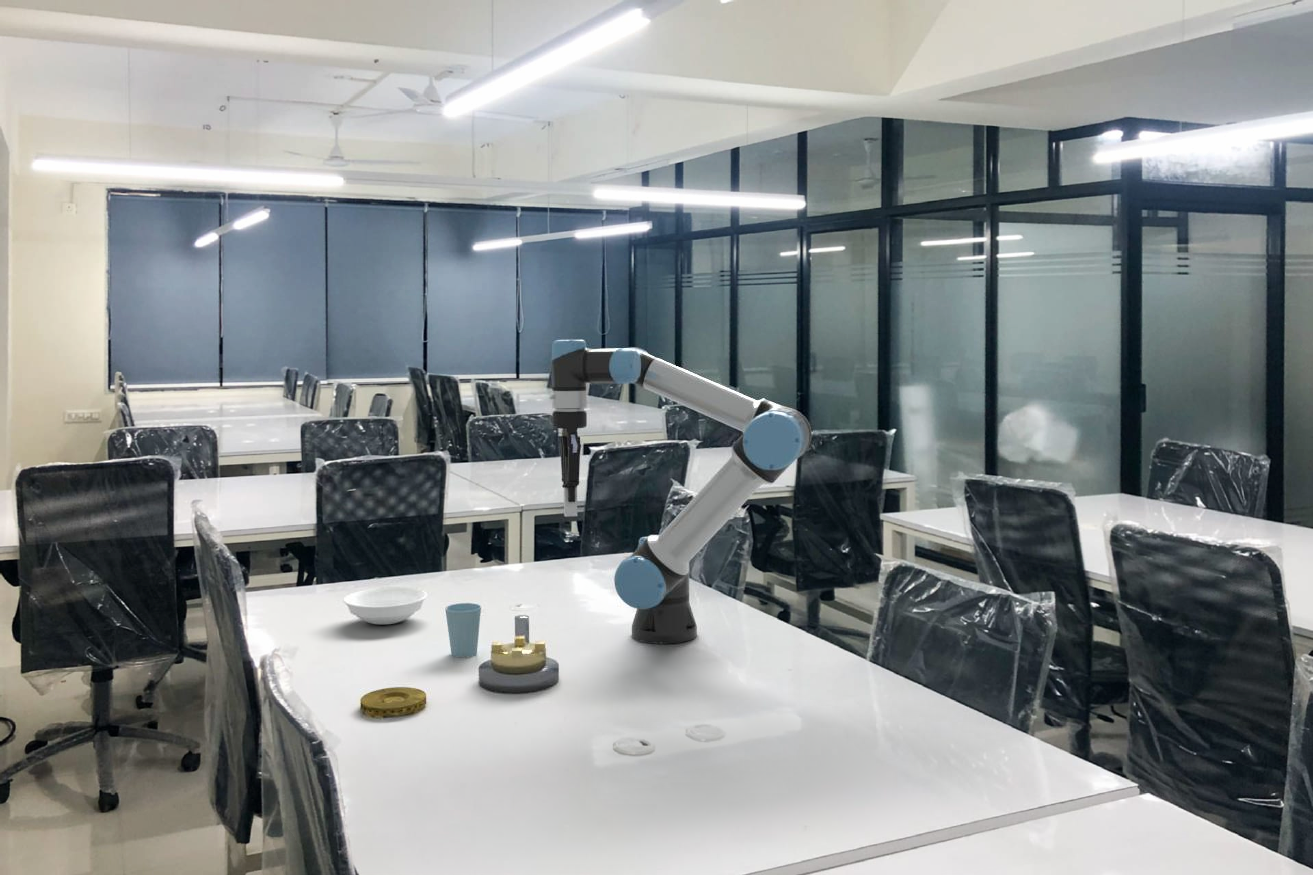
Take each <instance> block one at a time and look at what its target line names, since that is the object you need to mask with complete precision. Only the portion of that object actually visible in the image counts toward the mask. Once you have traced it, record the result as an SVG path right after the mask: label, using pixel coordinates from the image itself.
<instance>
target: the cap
mask: <svg viewBox="0 0 1313 875" xmlns="http://www.w3.org/2000/svg"><path fill="white" fill-rule="evenodd" d="M559 667H560V665H559V663H558V661H557V660H555V659H553V658H550V657H548V656H546V666H545V667H544V668H542V669H540V670H537V671H533V672H528V673H503V672H498V671H495V670H493V669H492V667H491V659H488V660H486V661H484V662H482V663H481V664H479V666H478V684H479V687H480V688H481V689H483V690H485V691H488V692H491V693H494V694H495V693H496V694H502V695H504V694H505V695H523V694H524V695H525V694H532V693H538V692H542V691H545V690H549V689H550V688H551V689H552V688H553V687H555V686H556V685H558V684H559V681H560V668H559Z"/></svg>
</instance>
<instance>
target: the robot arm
mask: <svg viewBox="0 0 1313 875" xmlns="http://www.w3.org/2000/svg"><path fill="white" fill-rule="evenodd" d="M551 346H552V347H551V359H550V362H551V382H552V384H551V385H552V386H551V388H552V394H550V395H549V399H550V400H552V409H554V410H553V412H552V414H551V416H552V427H553V428H555V429H559V430H560V429H562V430H561V435H559V440H558V443H559V447H560V448H559V450H560V463H561V465H560V467H561V468H560V469H561V482H562V486H561V487H562V488H563V516H564V517H578V486H579V485H580V469H581V468H580V464H581V448H582V443H581V436H579V434H578V430H579V429H583V428H586V427H587V424H588V423H587V421H588V420H587V418H588V417H587V414H588V413H587V411H586V410H585V409H587V407H588V406H587V404H588V402H587V401H588V400H587V396H588V394H587V393H588V392H587V384H593V383H595V384H618V385H619V384H620V385H623V384H624V385H625V384H626V385H627V384H632V385H636V386H638V387H640V388H643V389H645V390H648V391H649V392H653V394H654V393H655V394H657V395H659V396H661V397H663V398H666V399H668V400H670V401H673V402H675V403H676V404H679V405H681V406H683V407H686V408H688V409H691V410H693V411H695V412H697V413H698V414H702V415H704V416H706V417H709V418H710V419H713V420H715V421H718V422H720V423H722V424H725V425H726V426H729V427H730V428H733V429H736V430H738V431H741V432H742V434H741V435H740V436H739V437H738V439H736V441H735V442H734V443H733V444H732V445H731V457H730V458H729V459H728V460H727V462H726V463H725V464H723V466H722V467H721V468H720V469H719V470H718V471H717V472H716V473H715V474H714V475H713V476H712V477H711V479H710V480H709V481H708V482H707V483H706V484H705V485H704V486H703V488H701V489H700V490H699V492H698V493H697V494H696V495H695V496H694V497H693V498H692V499H691V500H690V501H689V503H687V505H685V506H684V508H683V509H682V510H681V511H680V512H679V513H678V514H677V515H676V517H675V518H674V519H673V520H672V521H671V522H670V523H669V524H668V525H667V526H666V527H665V528H664V530H662V531H661V533H660V534H650V535H648V536H642V537H640V538H639V540H638V545H637V549H635V551H634V552H633V553H632V554H631V555H630V556H628V557H626V558H624V559H623V560H622V561H621V562H620V563H619V565H618V567H617V568H616V570H615V573H614V578H613V579H614V580H613V581H614V589H615V591H616V593H617V595H618V597H619V598H620V599H621V601H622V602H623V603H625V604H626V605H627V606H629V607H631V608H633V609H636V611H635V614H634V617H633V621H632V624H631V637H632V638H633V639H634V640H637V641H640V642H643V643H649V644H656V645H658V644H662V645H663V644H664V645H666V644H667V645H668V644H669V645H670V644H679V643H685V641H686V642H689V641H692V640H693V639H696V638H697V636H698V626H697V622H696V619H695V615H694V613H693V610H692V606H691V604H690V561H691V560H692V559H693V558H694V557H695V556H696V555H697V554H698V553H699V552H700V551H701V550H702V549H703V548H704V547H705V546H706V544H707V543H708V542H710V540H711V539H712V538H713V537H714V536H715V535H716V534H717V532H719V531H720V530H721V529H722V528H723V526H724V525H725V524H726V523H727V522H728V521H729V520H730V519H731V517H733V516H734V515H735V513H737V511H738V510H739V509H740V508H741V507H742V506H743V505H744V504H745V503H746V502H747V501H748V499H749V500H750V498H751V497H752V495H753V494H754V493H755V492H756V491H758V489H759V488H760V487H761V486H762V485H772V484H774V483H775V482H776V481H777V480H778V478H779V477H780V476H781V475H782V474H783V473H784V472H786V470H787V469H788V468H789V467H790V466H791V465H792V464H793V463H794V462H795V461H796V460H797V459H799V458H800V457H802V456H803V455H804V454H805V453H806V452H807V450H808V449H809V447H810V445H811V441H812V428H811V424H810V422H809V421H808V419H807V417H806V416H804V415H803V414H802V413H801V412H800V411H798V410H797V409H794V408H791V407H788V406H784V405H782V404H778V403H775V402H773V401H770V400H768V399H766V398H761V399H758V400H756V399H754V398H751V397H749V396H747V395H744V394H742V393H740V392H738V391H736V390H732V389H731V388H729V387H726V386H724V385H721V384H719V383H716V382H715V381H711V380H709V379H708V378H705V377H702V376H700V375H698V374H697V373H696V374H695V373H693V372H691V371H689V370H686V369H685V368H682V367H679V366H676V364H672V363H671V362H667V361H666V360H663V359H661V358H658V357H655V356H653V355H651V354H649V353H648V352H647V351H646V350H644V349H642V348H640V347H635V346H634V347H632V346H631V347H623V348H622V347H620V348H588V347H587V343H586V340H584V339H556V340H554V342H552V345H551Z"/></svg>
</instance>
